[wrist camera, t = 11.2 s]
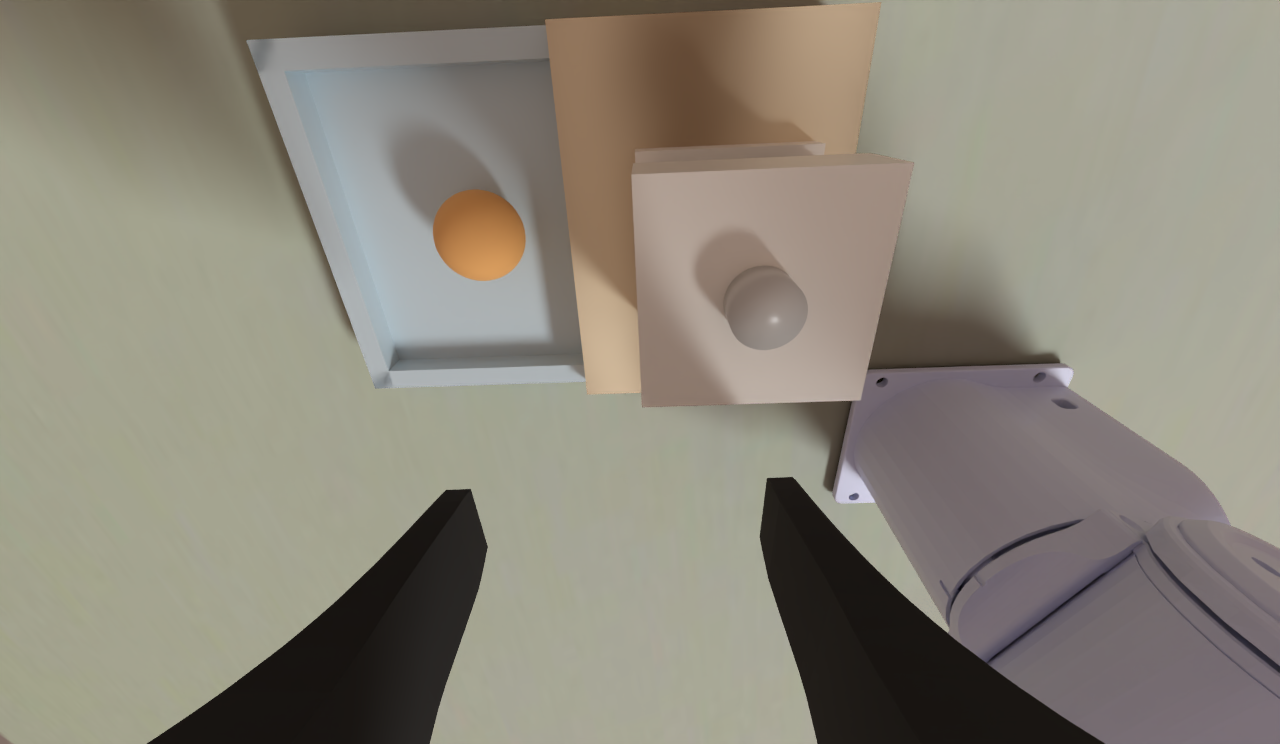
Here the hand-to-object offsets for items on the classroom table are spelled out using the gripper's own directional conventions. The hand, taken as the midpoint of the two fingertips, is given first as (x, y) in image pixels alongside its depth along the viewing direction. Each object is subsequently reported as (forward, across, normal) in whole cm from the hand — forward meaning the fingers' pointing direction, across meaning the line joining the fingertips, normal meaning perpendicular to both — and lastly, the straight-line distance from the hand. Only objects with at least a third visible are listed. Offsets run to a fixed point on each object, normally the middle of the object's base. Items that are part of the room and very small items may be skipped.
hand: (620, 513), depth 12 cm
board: (+10, -3, -5) cm, 12 cm away
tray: (+10, +6, -5) cm, 13 cm away
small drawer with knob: (+7, -3, -5) cm, 9 cm away
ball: (+8, +5, -5) cm, 11 cm away
